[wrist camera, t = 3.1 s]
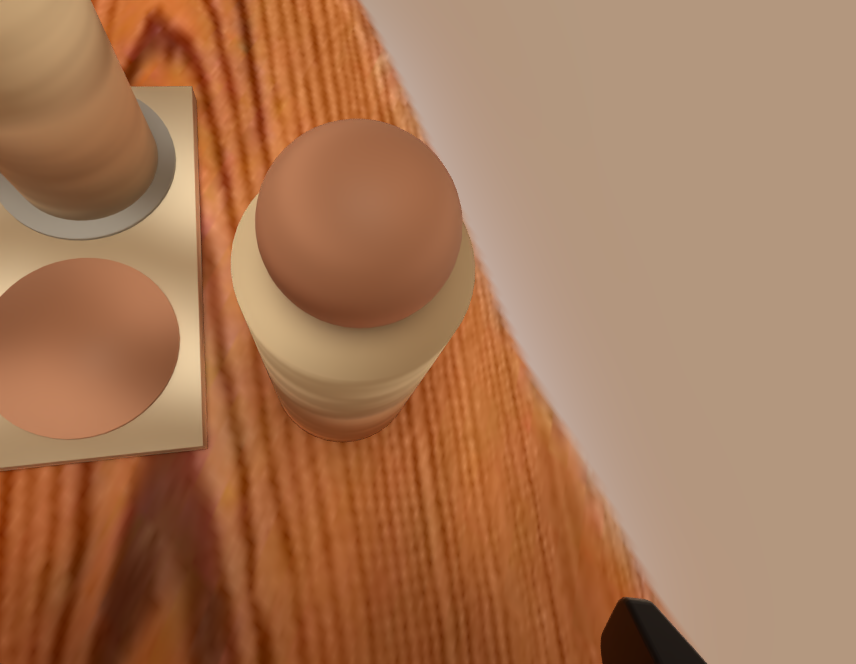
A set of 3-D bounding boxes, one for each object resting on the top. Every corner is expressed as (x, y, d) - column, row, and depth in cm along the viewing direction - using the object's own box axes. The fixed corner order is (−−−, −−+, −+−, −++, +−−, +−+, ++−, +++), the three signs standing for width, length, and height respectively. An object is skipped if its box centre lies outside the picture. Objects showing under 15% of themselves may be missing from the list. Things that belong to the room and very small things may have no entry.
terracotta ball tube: (256, 421, 20) (143, 274, 8) (298, 295, 22) (258, -1, 9) (391, 457, 21) (489, 369, 8) (424, 330, 22) (549, 90, 10)
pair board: (207, 448, 20) (201, 445, 19) (-37, 475, 19) (-56, 472, 18) (196, 100, 23) (190, 82, 22) (-11, 102, 22) (-26, 84, 21)
